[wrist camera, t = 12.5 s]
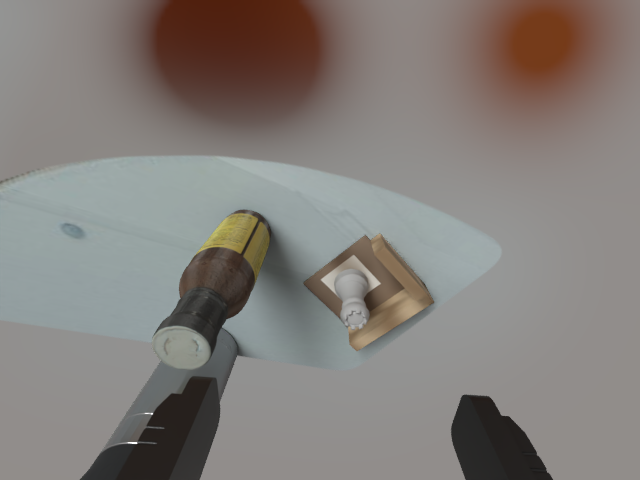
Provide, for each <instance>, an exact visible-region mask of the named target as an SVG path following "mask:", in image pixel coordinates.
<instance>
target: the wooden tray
mask: <svg viewBox="0 0 640 480" xmlns="http://www.w3.org/2000/svg"><path fill="white" fill-rule="evenodd" d="M347 269H356V270H359V271H361V272H363V273H364V274H365V276H366V277H367V279H368V287H369V288H368V291H367V294H366V296H365V297H364V302H365V304H366V308H367V309H368V310H369V314H370V316H369V320H368V321H367V324H366V325H365V324H364V325H363V328H362V329H359V327H356V328H355V330H351V327H348V330H349V342H350V345H351V346H352V347H353V348H354V349H355V350H356V351H358V350H360V349H361V348H363V347H365V346H366V345H368V344H369V343H371V342H372V341H374V340H376V339H377V338H379V337H380V336H382V335H383V334H385V333H387V332H388V331H390V330H391V329H393V328H395V327H396V326H398V325H399V324H401V323H402V322H404V321H406V320H407V319H409V318H410V317H412V316H413V315H415V314H417V313H418V312H420V311H421V310H423V309H424V308H426V307H428V306H429V305H431V304H432V303H434V301H433V299H432V297H431V295H430V293H429V291H428V290H427V288H426V286H425V284H424V283H423V282H422V281H421V280H420V278H419V277H418V276H417V275H416V274H415V273H414V272H413V270H412V269H411V268H410V267H409V266H408V265H407V264H406V262H405V261H404V260H403V259H402V258H401V257H400V256H399V254H398V253H397V252H396V251H395V250H394V249H393V248H392V246H391V245H390V244H389V243H388V242H387V241H386V240H385V239H384V237H383V236H382V235H381V234H378V235H377V236H376V237H374V238H373V239H372V240H369V239H368V237H367V236H366V235H365V236H363V237H362V238H361V239H359V240H358V241H357V242H356V243H354V244H353V245H352V246H350V247H349V248H348V249H346V250H345V251H344V252H343V253H341V254H340V255H339V256H337V257H336V258H335V259H333V260H332V261H331V262H330V263H328V264H327V265H326V266H324V267H323V268H322V269H320V270H319V271H318V272H316V273H315V274H314V275H313V276H311V277H310V278H309V279H307V280H306V281H305V282H304V285H305V286H306V287H307V288H308V289H309V290H310V291H312V292H313V293H314V294H315V295H316V296H317V297H318V298H319V299H320V300H321V301H322V302H323V303H324V304H325V305H326V306H327V307H328V308H329V309H330V310H331V311H333V312H334V313H335V314H336V315H337V316H338V317H339V318H340V313H341V310H342V303H343V301H342V300H341V299H340V298H339V297H338V296H337V294H336V292H335V286H334V281H335V278H336V276H337V275H338V274H339V273H340V272H342V271H344V270H347ZM340 319H341V318H340Z"/></svg>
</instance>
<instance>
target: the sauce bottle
mask: <svg viewBox="0 0 640 480" xmlns="http://www.w3.org/2000/svg"><path fill="white" fill-rule="evenodd" d="M270 236H271V230H270V227H269V225H268V223H267V221H266V220H265V219H264V218H263V217H262V216H261V215H260V214H259V213H257V212H254V211H250V210H238V211H236V212H234V213H232V214H230V215H229V216H228V217H227V218H226V219H224V220H223V221H222V222H221V224H220V225H219V226H218V227H217V229H216V230H215V231H214V232H213V234H212V235H211V236H210V237H209V239H208V240H207V241H206V242H205V244H204V245H203V246H202V247H201V249H200V250H199V251H198V252H197V254H196V255H195V256H194V257H193V259H192V260H191V262H190V264H189V265H188V266H187V267H186V269H185V270H184V272H183V274H182V277H181V279H180V284H179V291H180V298H181V299H180V300H179V302H178V304H177V306H176V308H175V309H174V311H173V312H172V314H171V315H170V316H169V317H167V318H166V319H165V320H164V321H163V322H162V323H161V324H160V326H159V327H158V329H157V331H156V332H155V334H154V336H153V338H152V348H153V351H154V352H155V354H156V355H157V357H158V358H159V359H160V360H161V361H162V362H163V363H165V364H167V365H168V366H170V367H173V368H176V369H185V370H193V369H197V368H200V367H202V366H204V365H205V364H206V363H207V362H208V361H209V360H210V358H211V356H212V354H213V352H214V350H215V347H216V343H217V336H218V334H219V332H220V329H221V328H222V325H223V324H224V323H225V321H226V319H228V318H231V317H233V316H235V315H236V314H238V313H239V312H240V311H241V310H242V309H243V307H244V306H245V304H246V303H247V301H248V299H249V296H250V293H251V291H252V290H253V288H254V285H255V282H256V280H257V277H258V274H259V271H260V268H261V266H262V263H263V260H264V257H265V255H266V252H267V249H268V247H269V241H270Z"/></svg>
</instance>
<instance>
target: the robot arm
mask: <svg viewBox="0 0 640 480" xmlns="http://www.w3.org/2000/svg"><path fill="white" fill-rule="evenodd" d="M237 352H238V350H237V345H236V343H235V341H234V339H233V338H232V336H231V335H230V334H229V333H228V332H226V331H225V330H223V329H222V328H221V329H220V332H219V334H218V336H217V343H216V347H215V350H214V352H213V354H212V356H211V358H210V360H209V361H208V362H207V363H206V364H205V365H204V366H202V367H200V368H197V369H193V370H185V369H176V368H173V367H170V366H168V365H167V364H165V363H163V362H162V361H160V363H159V365H158V366H157V368H156V369H155V371H154V372H153V374H152V375H151V377H150V378H149V380H148V381H147V383H146V384H145V386H144V387H143V389H142V390H141V392H140V393H139V395H138V396H137V398H136V399H135V401H134V402H133V404H132V405H131V407H130V409H129V410H128V411H127V413H126V415H125V416H124V418H123V419H122V421H121V422H120V424H119V425H118V427H117V428H116V430H115V431H114V433H113V435H112V436H111V438H110V439H109V441H108V442H107V444H106V445H105V447H104V448H103V450H102V451H101V453H100V454H99V456H98V457H97V459H96V460H95V462H94V463H93V465H92V466H91V467H90V469H89V470H88V471H87V472H86V474H85V475H84V476H83V477H82V478H81V479H80V480H199V479H200V477H201V474H202V471H203V468H204V465H205V463H206V460H207V457H208V454H209V451H210V448H211V445H212V442H213V439H214V437H215V434H216V431H217V427H218V423H219V418H220V400H221V397H222V394H223V392H224V389H225V386H226V384H227V381H228V378H229V376H230V373H231V370H232V368H233V365H234V362H235V359H236V357H237ZM451 435H452V442H453V446H454V449H455V451H456V454H457V457H458V460H459V462H460V465H461V468H462V471H463V473H464V476H465V479H466V480H553V479H552V477H551V476H550V474H549V473H547V471H546V467H545V465H544V464H543V462H542V460H541V459H540V457H539V456H537V452H536V450H535V449H534V447H533V445H532V444H531V442H530V440H529V439H528V437H527V435H526V434H525V432H524V431H523V430H521V428H520V427H519V426H518V425H517V424H516V423H515V422H514V421H513V420H512V419H511V418H510V417H509V416H501V414H500V412H499V410H498V409H497V407H496V405H495V403H494V402H493V400H492V399H491V398H490V397H488V396H477V395H463V396H462V398H461V400H460V403H459V406H458V409H457V412H456V415H455V417H454V420H453V423H452V428H451Z"/></svg>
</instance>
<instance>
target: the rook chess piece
mask: <svg viewBox="0 0 640 480" xmlns="http://www.w3.org/2000/svg"><path fill="white" fill-rule="evenodd" d="M334 286H335V292H336V294H337V296H338V297H339V298H340V299H341V300H342V301H343V303H342V310H341V313H340V318H341V321H342V322H343V323H344V324H345V326H346V327H351V330H355V328H356V327H359V329H362V328H363V325H364V324H365V325H366V324H367V321H368V320H369V316H370V314H369V310H368V309H367V308H366V304H365V302H364V297H365V296H366V294H367V291H368V288H369V287H368V279H367V277H366V276H365V274H364V273H363V272H361V271H359V270H356V269H347V270H344V271H342V272H340V273H339V274H338V275H337V276H336V278H335V281H334Z"/></svg>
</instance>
